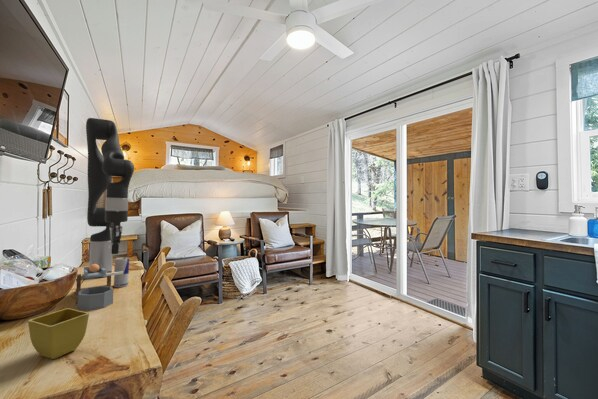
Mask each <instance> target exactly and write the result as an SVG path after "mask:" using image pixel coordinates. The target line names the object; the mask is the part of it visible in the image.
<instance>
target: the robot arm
mask: <svg viewBox="0 0 598 399" xmlns="http://www.w3.org/2000/svg"><path fill="white" fill-rule="evenodd" d="M85 130H86V131H85V132H86V144H87V190H88V191H87V192H88V193H87V194H88V198H87V199H88V200H87V211H86V212H87V213H86V214H87V217H86V219H87V225H88V226H89V227H95V228H97V227H105V229H103V230H102V231H99V232H96V233H93V234H91V235H90V237H89V239H90V240H89V262H88V263H89V265H88V267H90V265H92V264H97V265H99V266H102V265H103V268H104V269H105V270H106V273H107V271H111V273H112V272H113V256H114V255H118V254H119V252H120V251H119V250H120V248H119V247H120V246H119V245H120V243H121V240H122V239H121V238H122V233H123V226H122V225H121V223H126V222H127V221H128V219H129V218H128V217H129V216H128V215H129V199H128V197H129V188H130V187H129V186H130V183H131V180H132V177H133V174H134V172H135V165H134V163H133V162H132V161H131V160H129V159H125V155H124V153H123V151H122V148H121V145H120V138H119V133H118V128H117V125H116V123H115V122H114V121H113V120H110V119H103V118H95V117H88V118H87V119H86V123H85ZM97 140H98V141H99V140H100V141H103V143H102V144H101V148H100V149H101V150H100V149H99V147H98V145H97ZM113 177H114V178H115V177H118V178H121V179H120V181H117V182H112V180H113V179H112V178H113ZM105 192H106V195H105V196H106V197H105V204H104V207H97V204H98V201H99V200H100V199H101V197H102V195H103V194H104V193H105ZM103 278H107V276H104V277H103Z"/></svg>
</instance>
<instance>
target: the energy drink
mask: <svg viewBox="0 0 598 399" xmlns="http://www.w3.org/2000/svg"><path fill="white" fill-rule="evenodd" d="M113 270H114V271H113V272H121V271H123V274H119V275H113V287H114V288H124V287H128V285H129V277H130V276H129V275H130V273H129V272H130V258H129V257H127V256H120V257H116V258H115V259H114V269H113Z"/></svg>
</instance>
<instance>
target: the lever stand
mask: <svg viewBox="0 0 598 399" xmlns="http://www.w3.org/2000/svg"><path fill="white" fill-rule="evenodd" d="M107 273H111V271H107ZM81 285H82V273H77V274H76V289H75V305H78V291H81V290H84V289H87V288H91V287H92V286H88V287H82V286H81ZM99 286H100V285H97V286H94V287H99ZM102 286H109V287H112V275H110V276H107V277H106V284H104V285H102ZM81 287H82V288H81Z"/></svg>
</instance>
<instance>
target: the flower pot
mask: <svg viewBox="0 0 598 399" xmlns="http://www.w3.org/2000/svg"><path fill="white" fill-rule="evenodd" d="M89 316H90V312H86V311H84V310H83V311H81V310H79V309H73V308H68V307H65V308H64V309H60V310H57V311H54V312H51V313H47V314H44V315H41V316H37V317H34V318H30V319H28V320H27V322H28V323H27V324H28V325H27V326H28V331H29V337H30V341H31V343H32V344H31V345H32V346H33V348H34V350H35V351H36V352H37V353H38V354H39V355H40V356H42V357H45V358H48V359H51V360H54V359H55V360H56V359H57V358H60V357H62V356H64V355H66V354H68V353H71V352H73V351H76V349H77V348H78V347H79V346H80V344H81V343H82V342H83V340H84V338H85V336H86V332H87V327H88V322H89Z"/></svg>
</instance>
